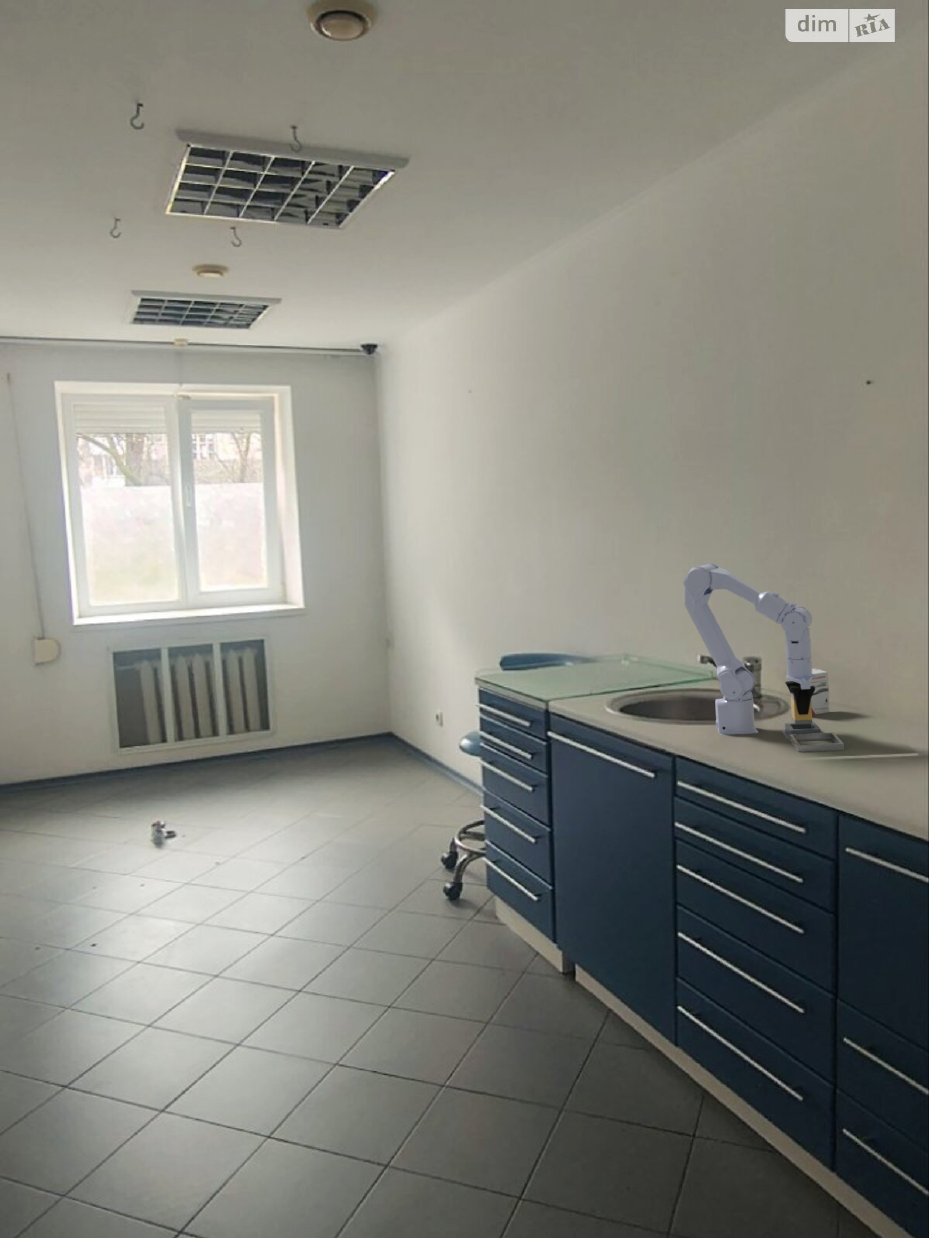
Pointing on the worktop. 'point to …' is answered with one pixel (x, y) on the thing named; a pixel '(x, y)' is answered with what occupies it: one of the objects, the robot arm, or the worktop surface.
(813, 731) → the socket block
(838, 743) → the parts tray
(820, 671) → the ink box
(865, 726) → the worktop surface
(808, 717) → the block
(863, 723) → the worktop surface
